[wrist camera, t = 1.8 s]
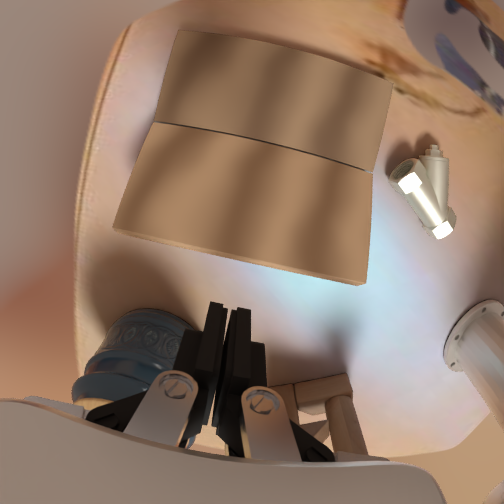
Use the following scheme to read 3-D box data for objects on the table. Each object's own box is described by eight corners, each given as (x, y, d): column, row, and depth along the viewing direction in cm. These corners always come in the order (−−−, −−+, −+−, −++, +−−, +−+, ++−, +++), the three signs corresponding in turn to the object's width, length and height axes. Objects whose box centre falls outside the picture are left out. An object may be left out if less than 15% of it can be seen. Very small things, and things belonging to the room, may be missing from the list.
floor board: (386, 85, 23) (393, 83, 22) (366, 170, 26) (372, 172, 25) (182, 35, 22) (178, 30, 20) (159, 121, 25) (153, 120, 23)
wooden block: (266, 386, 36) (269, 510, 20) (346, 371, 36) (383, 488, 19) (270, 403, 38) (275, 519, 21) (347, 389, 37) (378, 499, 20)
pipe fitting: (420, 137, 26) (383, 179, 27) (442, 136, 22) (402, 183, 23) (457, 192, 28) (424, 233, 29) (478, 197, 24) (443, 243, 25)
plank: (365, 181, 26) (372, 173, 25) (357, 286, 24) (366, 283, 22) (155, 132, 25) (153, 122, 23) (118, 233, 22) (112, 227, 21)
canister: (108, 294, 32) (28, 400, 15) (216, 318, 33) (189, 455, 16) (115, 372, 36) (68, 471, 20) (204, 393, 37) (185, 507, 21)
